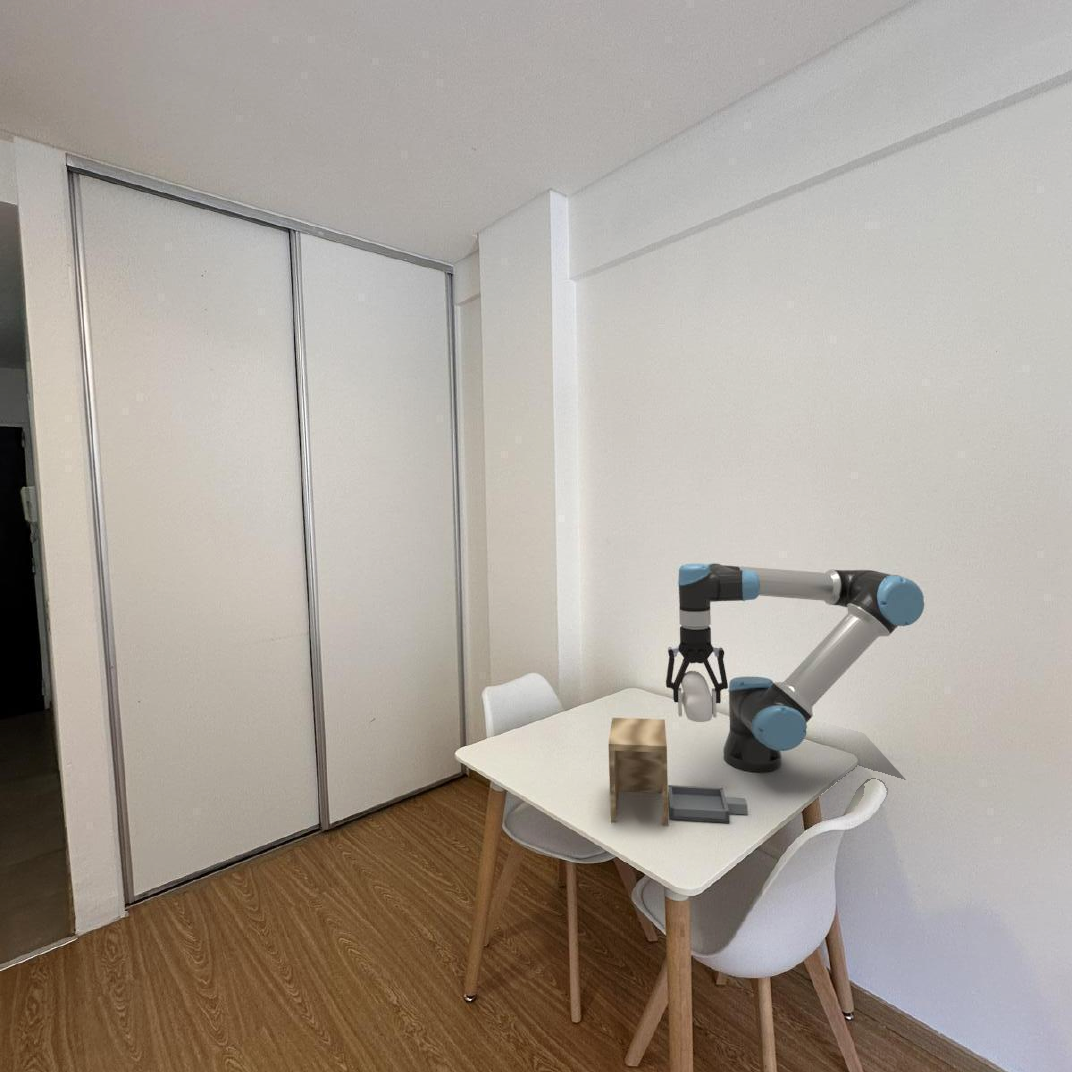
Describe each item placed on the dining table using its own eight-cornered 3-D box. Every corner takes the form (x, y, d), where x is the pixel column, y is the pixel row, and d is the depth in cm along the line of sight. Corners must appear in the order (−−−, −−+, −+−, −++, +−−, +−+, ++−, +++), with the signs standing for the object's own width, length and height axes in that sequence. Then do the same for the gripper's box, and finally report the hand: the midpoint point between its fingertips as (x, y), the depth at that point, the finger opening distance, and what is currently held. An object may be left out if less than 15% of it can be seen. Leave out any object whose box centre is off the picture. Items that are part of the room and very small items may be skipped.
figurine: (678, 713, 154) (677, 668, 153) (707, 711, 154) (706, 666, 153) (687, 724, 146) (685, 676, 146) (717, 721, 147) (716, 674, 146)
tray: (742, 799, 144) (742, 788, 144) (750, 824, 133) (750, 812, 133) (668, 795, 147) (668, 785, 147) (670, 819, 137) (670, 808, 136)
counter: (666, 790, 150) (664, 719, 149) (668, 825, 134) (666, 746, 133) (614, 788, 152) (612, 717, 151) (610, 822, 137) (608, 743, 135)
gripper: (735, 622, 150) (737, 710, 152) (653, 622, 154) (655, 708, 156) (740, 629, 143) (742, 721, 145) (653, 629, 147) (656, 719, 148)
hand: (697, 714), depth 150 cm, fingers closed on figurine, 8 cm apart
